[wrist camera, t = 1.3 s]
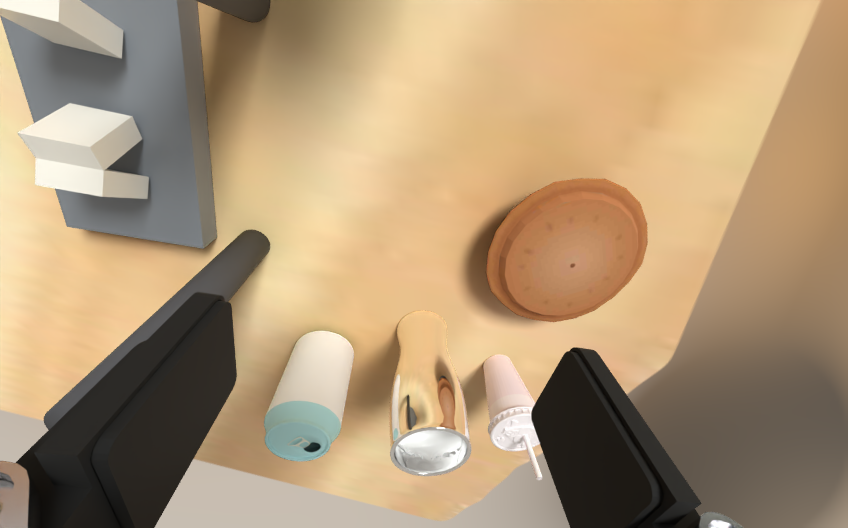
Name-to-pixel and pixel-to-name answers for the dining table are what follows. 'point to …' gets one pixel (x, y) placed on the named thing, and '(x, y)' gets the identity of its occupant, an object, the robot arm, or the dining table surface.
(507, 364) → the smoothie
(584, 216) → the pie
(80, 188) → the paddle
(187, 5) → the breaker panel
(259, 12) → the rod
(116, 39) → the paddle
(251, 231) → the rod
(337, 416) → the can
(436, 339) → the beer glass
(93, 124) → the middle paddle
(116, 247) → the dining table surface
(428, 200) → the dining table surface
